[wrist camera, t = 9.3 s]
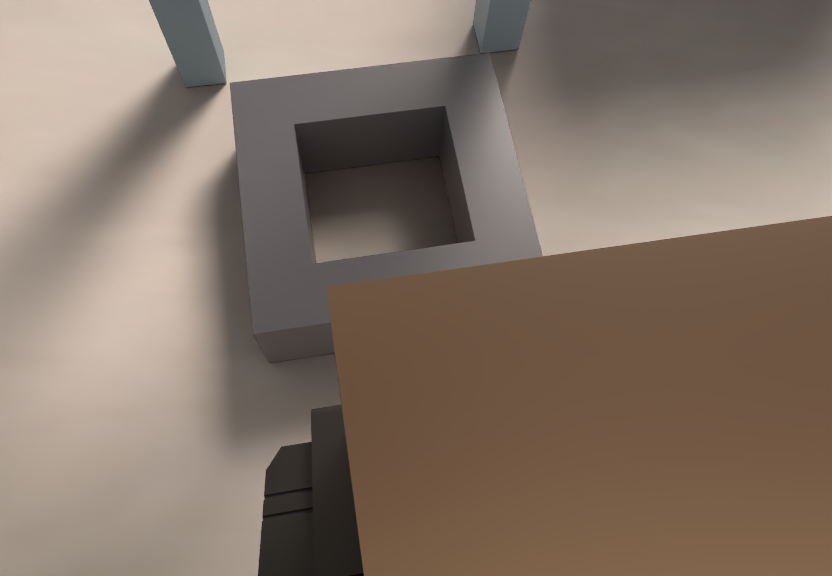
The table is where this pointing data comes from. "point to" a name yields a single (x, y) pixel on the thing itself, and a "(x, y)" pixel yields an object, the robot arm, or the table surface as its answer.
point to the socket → (360, 146)
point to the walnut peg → (596, 410)
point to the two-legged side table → (204, 57)
